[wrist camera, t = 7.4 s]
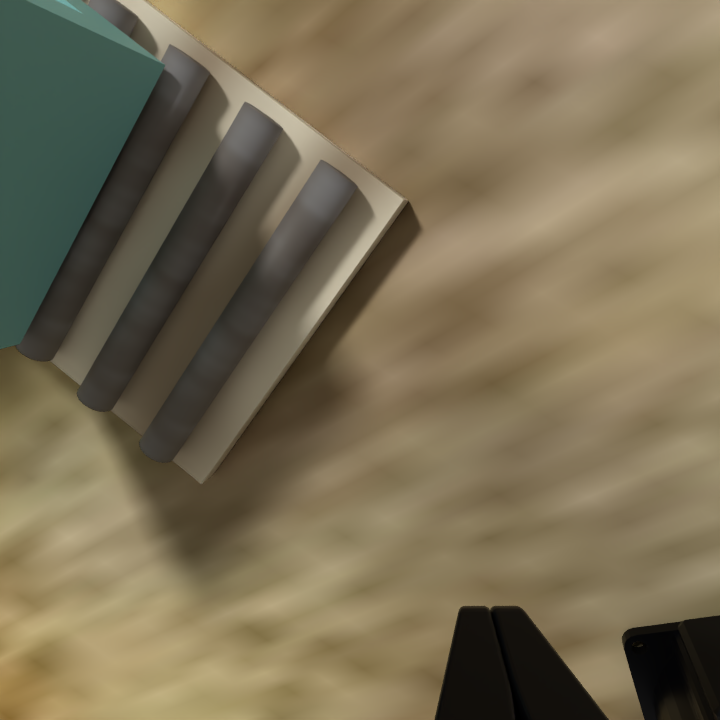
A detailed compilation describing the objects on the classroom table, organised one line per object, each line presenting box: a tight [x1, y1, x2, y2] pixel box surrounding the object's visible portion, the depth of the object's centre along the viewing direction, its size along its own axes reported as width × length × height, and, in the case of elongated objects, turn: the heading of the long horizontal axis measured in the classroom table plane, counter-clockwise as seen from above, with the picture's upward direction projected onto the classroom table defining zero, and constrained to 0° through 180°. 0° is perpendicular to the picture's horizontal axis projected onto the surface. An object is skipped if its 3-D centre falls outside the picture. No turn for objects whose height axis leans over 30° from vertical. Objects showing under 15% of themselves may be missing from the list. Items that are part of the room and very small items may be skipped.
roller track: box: [16, 0, 408, 484], centre depth 20 cm, size 18×13×6 cm
